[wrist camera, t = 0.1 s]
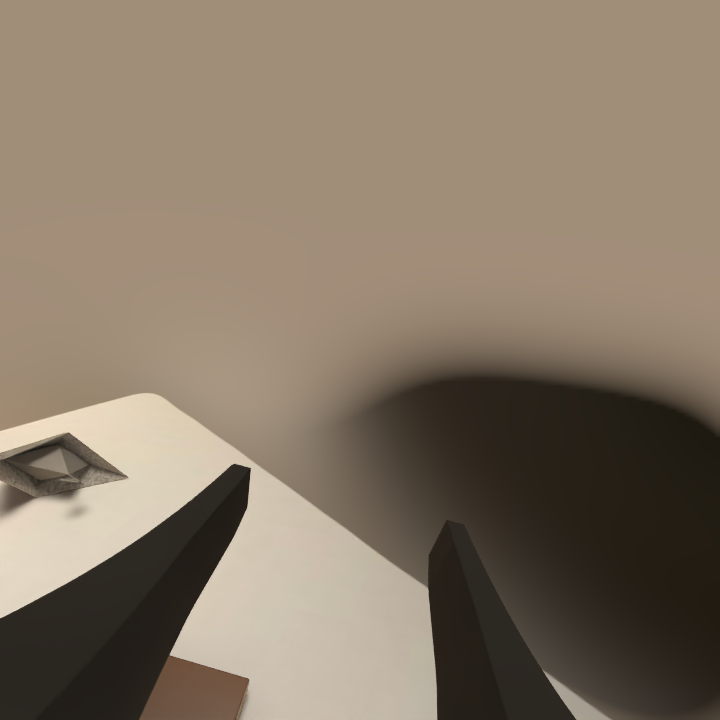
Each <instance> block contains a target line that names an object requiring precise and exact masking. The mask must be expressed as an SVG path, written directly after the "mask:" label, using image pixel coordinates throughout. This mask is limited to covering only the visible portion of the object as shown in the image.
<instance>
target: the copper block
mask: <svg viewBox="0 0 720 720" xmlns="http://www.w3.org/2000/svg"><path fill="white" fill-rule="evenodd" d="M248 684H249V679H248V678H244V677H241V676H237V675H234V674H231V673H227V672H224V671H220V670H217V669H214V668H210V667H207V666H204V665H200V664H197V663H193V662H190V661H187V660H183V659H180V658H176V657H173V656H170V655H169V656H168V659H167V661H166V663H165V665H164V667H163V669H162V671H161V673H160V676H159V678H158V680H157V682H156V684H155V686H154V688H153V690H152V693H151V695H150V697H149V699H148V701H147V704H146V706H145V708H144V710H143V712H142V714H141V717H140V719H139V720H238V719H239V716H240V713H241V710H242V707H243V704H244V701H245V698H246V695H247V690H248Z"/></svg>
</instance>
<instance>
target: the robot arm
mask: <svg viewBox="0 0 720 720" xmlns="http://www.w3.org/2000/svg"><path fill="white" fill-rule="evenodd" d="M250 471H251V468H248V467H244V466H241V465H237V464H233V465H231V466H230V467H229V468H228V469H227V470H226V471H225V472H224V473H222V474H221V475H220V476H219V477H218V478H217V479H216V480H215V481H213V482H212V483H211V484H210V485H209V486H208V487H206V488H205V489H204V490H203V491H202V492H201V493H199V494H198V495H197V496H196V497H194V498H193V499H192V500H191V501H189V502H188V503H187V504H186V505H184V506H183V507H182V508H181V509H179V510H178V511H177V512H176V513H174V514H173V515H171V516H170V517H169V518H167V519H166V520H165V521H163V522H162V523H161V524H159V525H158V526H157V527H155V528H154V529H153V530H151V531H150V532H148V533H147V534H145V535H144V536H143V537H141V538H140V539H138V540H137V541H135V542H134V543H132V544H131V545H129V546H128V547H126V548H125V549H123V550H122V551H120V552H119V553H117V554H115V555H114V556H112V557H111V558H109V559H107V560H106V561H104V562H102V563H101V564H99V565H97V566H96V567H94V568H93V569H91V570H89V571H88V572H86V573H84V574H83V575H81V576H79V577H77V578H76V579H74V580H72V581H70V582H69V583H67V584H65V585H63V586H61V587H60V588H58V589H56V590H54V591H52V592H50V593H48V594H46V595H45V596H43V597H41V598H39V599H37V600H35V601H33V602H32V603H30V604H28V605H26V606H24V607H22V608H20V609H18V610H16V611H14V612H12V613H11V614H9V615H7V616H5V617H2V618H0V720H139V719H140V717H141V714H142V712H143V710H144V708H145V706H146V704H147V701H148V699H149V697H150V695H151V693H152V690H153V688H154V686H155V684H156V682H157V680H158V678H159V676H160V673H161V671H162V669H163V667H164V665H165V663H166V661H167V659H168V656H169V654H170V652H171V650H172V648H173V646H174V644H175V642H176V640H177V638H178V636H179V634H180V632H181V630H182V628H183V625H184V623H185V621H186V619H187V617H188V616H189V614H190V612H191V610H192V608H193V606H194V604H195V603H196V601H197V599H198V598H199V596H200V594H201V592H202V591H203V589H204V587H205V585H206V584H207V582H208V580H209V579H210V577H211V575H212V573H213V572H214V570H215V568H216V567H217V565H218V563H219V561H220V560H221V558H222V556H223V555H224V553H225V551H226V549H227V548H228V546H229V544H230V542H231V541H232V539H233V537H234V535H235V533H236V531H237V529H238V527H239V524H240V522H241V520H242V518H243V515H244V513H245V511H246V509H247V505H248V494H249V482H250ZM428 570H429V571H428V577H429V578H428V590H429V602H430V613H431V624H432V635H433V645H434V656H435V667H436V682H437V720H576V719H575V717H574V716H573V715H572V713H571V712H570V710H569V709H568V708H567V706H566V705H565V703H564V702H563V701H562V699H561V698H560V696H559V695H558V693H557V692H556V690H555V689H554V687H553V686H552V684H551V683H550V681H549V680H548V678H547V677H546V675H545V674H544V672H543V671H542V669H541V667H540V666H539V664H538V663H537V661H536V660H535V658H534V656H533V655H532V653H531V652H530V650H529V648H528V647H527V645H526V643H525V642H524V640H523V638H522V636H521V635H520V633H519V631H518V630H517V628H516V626H515V624H514V623H513V621H512V619H511V617H510V616H509V614H508V612H507V610H506V609H505V606H504V605H503V603H502V601H501V599H500V597H499V595H498V593H497V591H496V589H495V587H494V585H493V584H492V582H491V580H490V578H489V576H488V574H487V572H486V570H485V568H484V566H483V564H482V562H481V559H480V558H479V555H478V553H477V551H476V549H475V547H474V545H473V543H472V541H471V538H470V536H469V534H468V532H467V530H466V528H465V526H464V525H463V524H460V523H456V522H452V521H449V520H447V521H446V523H445V525H444V526H443V528H442V531H441V533H440V534H439V536H438V538H437V540H436V542H435V544H434V546H433V548H432V550H431V552H430V554H429V569H428Z"/></svg>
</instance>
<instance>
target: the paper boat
mask: <svg viewBox="0 0 720 720" xmlns="http://www.w3.org/2000/svg"><path fill="white" fill-rule="evenodd" d="M125 478H128V477H127V476H126V475H124V474H123V473H122V472H120V471H119V470H118V469H116V468H115V467H114V466H112V465H111V464H110V463H108V462H107V461H106V460H104V459H103V458H102V457H101V456H99V455H98V454H97V453H95V452H94V451H93V450H91V449H90V448H89V447H87V446H86V445H85V444H83V443H82V442H81V441H79V440H78V439H77V438H75V437H74V436H73V435H71V434H70V433H63V434H60V435H56V436H53V437H50V438H47V439H44V440H40V441H37V442H34V443H31V444H28V445H25V446H21V447H18V448H15V449H12V450H9V451H5V452H2V453H0V480H1V481H3V482H5V483H7V484H9V485H11V486H13V487H15V488H18V489H20V490H22V491H24V492H26V493H28V494H30V495H32V496H35V497H40V496H45V495H49V494H54V493H59V492H64V491H68V490H73V489H78V488H82V487H87V486H92V485H97V484H101V483H106V482H111V481H116V480H120V479H125Z"/></svg>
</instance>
